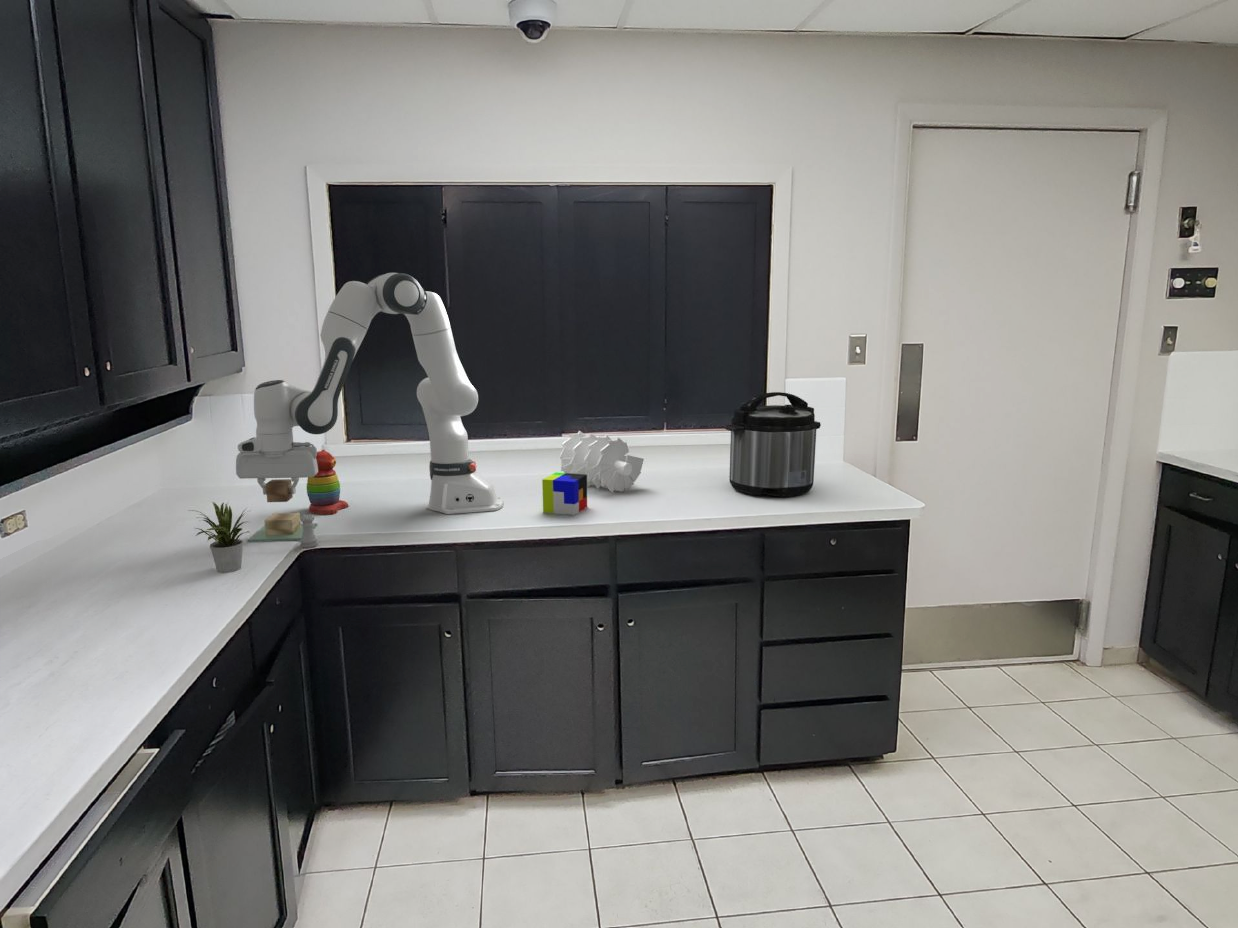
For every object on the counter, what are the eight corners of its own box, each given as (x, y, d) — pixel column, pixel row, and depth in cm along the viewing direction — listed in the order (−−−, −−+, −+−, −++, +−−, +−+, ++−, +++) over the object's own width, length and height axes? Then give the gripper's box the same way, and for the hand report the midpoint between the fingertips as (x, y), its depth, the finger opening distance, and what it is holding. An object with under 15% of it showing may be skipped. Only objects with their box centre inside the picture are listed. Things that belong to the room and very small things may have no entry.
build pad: (317, 525, 227) (317, 523, 227) (303, 540, 214) (302, 537, 214) (265, 526, 226) (265, 524, 226) (247, 541, 212) (247, 539, 212)
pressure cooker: (816, 481, 278) (820, 388, 271) (820, 501, 250) (825, 398, 244) (727, 477, 283) (729, 386, 277) (722, 497, 256) (724, 396, 249)
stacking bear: (332, 515, 238) (327, 455, 234) (300, 513, 240) (295, 454, 236) (351, 505, 248) (346, 448, 244) (320, 504, 250) (316, 447, 246)
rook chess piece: (302, 549, 206) (300, 518, 204) (297, 545, 210) (295, 515, 208) (320, 546, 209) (318, 515, 207) (315, 542, 212) (313, 512, 210)
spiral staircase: (616, 507, 260) (563, 491, 277) (651, 476, 269) (598, 462, 286) (600, 461, 250) (546, 446, 267) (636, 430, 260) (582, 418, 277)
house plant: (181, 568, 192) (173, 501, 189) (241, 554, 202) (234, 490, 199) (206, 582, 182) (198, 512, 179) (267, 567, 192) (260, 500, 189)
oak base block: (300, 527, 223) (299, 512, 223) (293, 534, 217) (291, 519, 216) (274, 527, 223) (273, 513, 222) (265, 535, 216) (264, 520, 215)
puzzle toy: (574, 515, 237) (574, 481, 235) (543, 512, 240) (542, 479, 238) (587, 507, 246) (586, 474, 244) (556, 504, 249) (555, 472, 247)
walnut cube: (292, 497, 221) (291, 479, 220) (286, 501, 216) (285, 483, 215) (273, 497, 220) (271, 479, 219) (267, 502, 215) (265, 483, 214)
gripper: (319, 440, 219) (322, 490, 222) (240, 441, 217) (244, 491, 220) (312, 444, 213) (316, 495, 215) (231, 445, 211) (236, 497, 214)
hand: (279, 493), depth 218 cm, fingers closed on walnut cube, 5 cm apart
